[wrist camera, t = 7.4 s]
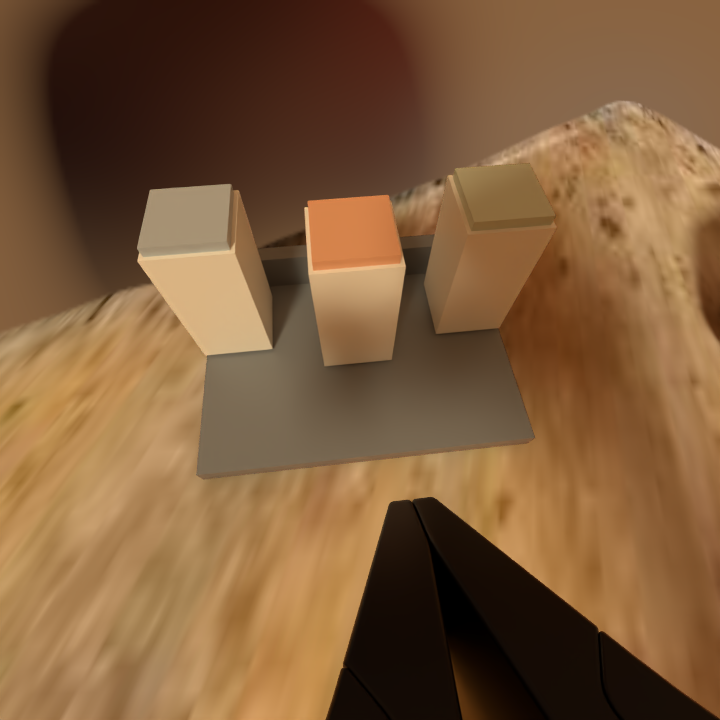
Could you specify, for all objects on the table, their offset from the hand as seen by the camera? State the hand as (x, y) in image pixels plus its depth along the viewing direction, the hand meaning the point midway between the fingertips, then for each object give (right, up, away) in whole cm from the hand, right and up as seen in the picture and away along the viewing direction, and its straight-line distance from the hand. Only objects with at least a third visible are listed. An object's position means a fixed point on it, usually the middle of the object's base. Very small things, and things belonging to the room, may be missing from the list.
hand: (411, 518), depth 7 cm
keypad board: (-1, +3, +17) cm, 17 cm away
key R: (-1, +5, +16) cm, 17 cm away
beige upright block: (+5, +7, +17) cm, 20 cm away
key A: (-8, +5, +17) cm, 20 cm away
